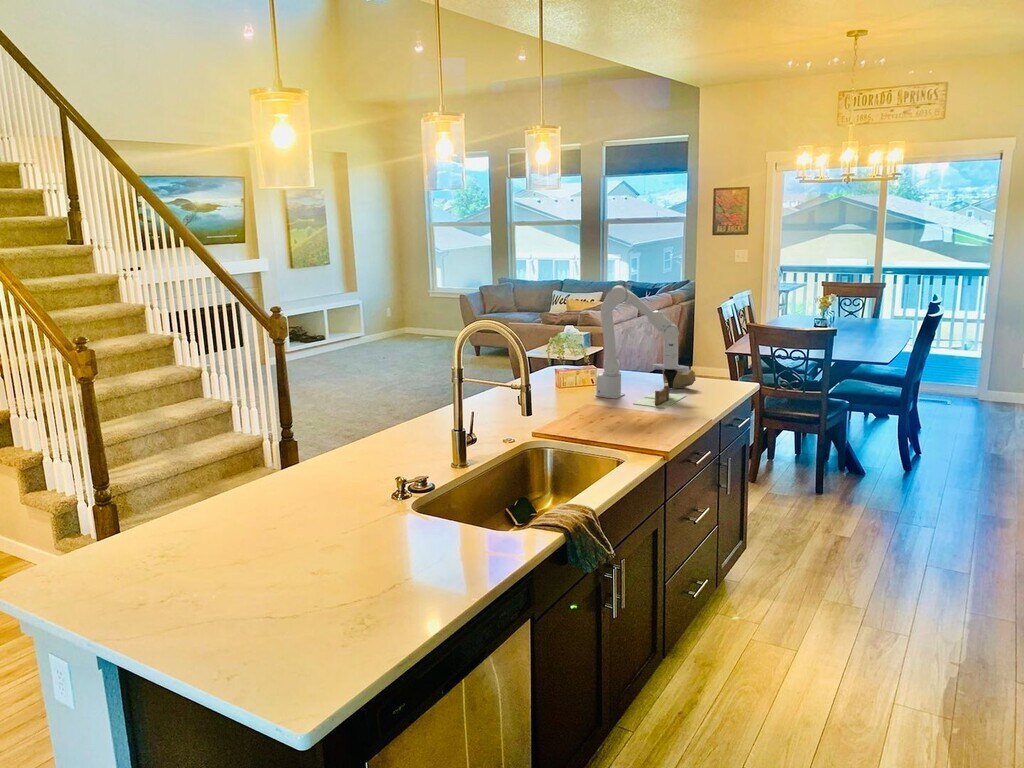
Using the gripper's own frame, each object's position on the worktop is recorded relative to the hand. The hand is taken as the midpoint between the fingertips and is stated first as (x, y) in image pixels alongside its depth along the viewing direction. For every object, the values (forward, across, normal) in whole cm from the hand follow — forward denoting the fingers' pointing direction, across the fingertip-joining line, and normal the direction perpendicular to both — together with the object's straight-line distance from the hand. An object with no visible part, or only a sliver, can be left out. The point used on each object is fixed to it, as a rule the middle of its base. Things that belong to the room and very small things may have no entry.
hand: (670, 388), depth 304 cm
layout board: (+4, +2, +6) cm, 7 cm away
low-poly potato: (+4, +3, -17) cm, 17 cm away
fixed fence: (+4, -1, +11) cm, 11 cm away
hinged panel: (+3, +1, +1) cm, 3 cm away
